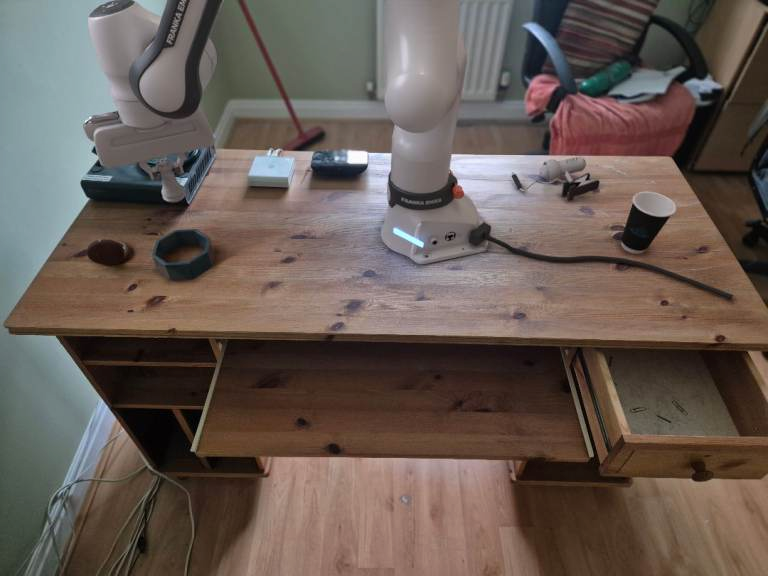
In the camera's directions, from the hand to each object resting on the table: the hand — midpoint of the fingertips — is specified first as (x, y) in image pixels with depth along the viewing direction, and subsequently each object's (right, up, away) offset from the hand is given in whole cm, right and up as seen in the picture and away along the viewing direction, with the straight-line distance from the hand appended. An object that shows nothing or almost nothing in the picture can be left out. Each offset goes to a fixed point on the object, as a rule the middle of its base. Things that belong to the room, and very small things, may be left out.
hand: (167, 175), depth 96 cm
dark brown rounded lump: (-12, -16, +2) cm, 20 cm away
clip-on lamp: (+81, +2, +22) cm, 84 cm away
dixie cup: (+94, -13, +8) cm, 95 cm away
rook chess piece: (0, -4, +4) cm, 5 cm away
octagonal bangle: (+3, -17, +2) cm, 17 cm away
